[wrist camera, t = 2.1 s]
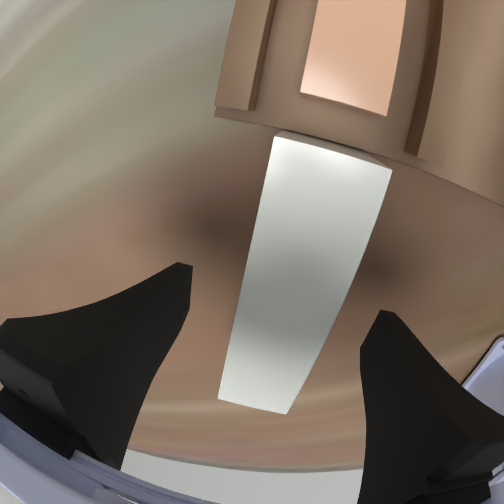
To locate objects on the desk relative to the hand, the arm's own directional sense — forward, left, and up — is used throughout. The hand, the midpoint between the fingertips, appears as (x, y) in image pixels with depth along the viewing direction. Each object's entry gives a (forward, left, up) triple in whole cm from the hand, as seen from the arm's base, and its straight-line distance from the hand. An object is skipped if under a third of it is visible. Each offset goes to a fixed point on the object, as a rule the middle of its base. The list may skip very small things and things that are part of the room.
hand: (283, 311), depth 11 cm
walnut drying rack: (-4, -13, -4) cm, 14 cm away
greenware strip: (0, 0, -5) cm, 5 cm away
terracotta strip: (0, -13, -3) cm, 13 cm away
